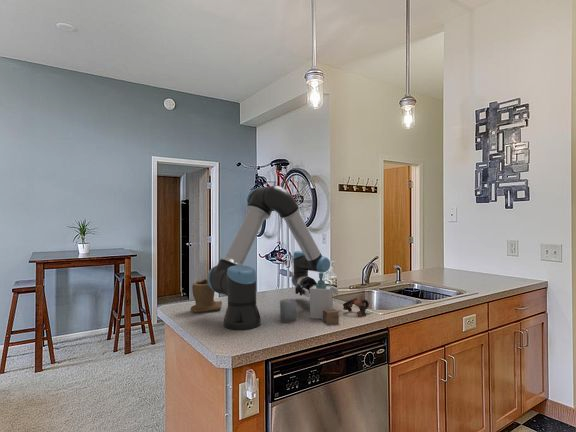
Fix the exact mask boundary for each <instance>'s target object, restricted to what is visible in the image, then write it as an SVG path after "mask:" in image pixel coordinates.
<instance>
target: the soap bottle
mask: <svg viewBox="0 0 576 432" xmlns="http://www.w3.org/2000/svg"><path fill="white" fill-rule="evenodd" d="M317 273H318V279H319V280H317V282H316V283H317V284H316V285H313V286H312V287H311V288H310V293H309V318H310V319H317V320H323V309H334V308H333V307H334V306H333V305H334V304H333V302H334V301H333V297H334V296H333V294H334V293H332V285H326V284H327V283H326V284H325V280H323V278H324V273H325V272H317Z"/></svg>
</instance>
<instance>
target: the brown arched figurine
mask: <svg viewBox="0 0 576 432" xmlns="http://www.w3.org/2000/svg"><path fill="white" fill-rule="evenodd" d="M364 304H365V305H364ZM353 305H355V307H357V308H358V309H359V310H358V311H357V312H356V315H357V317H358V318H360V317H361V318H362V316H365V315H366V311H367V310H368V308H369V305H370V303H369V301H368V300H367V299H362V300H359V299H358V297H355V298H352V299H350V300H348V301H346V302H344V303H343V304H342V306H343V308H342V310H343V311H345V310H346V311H347V312H349V313H351V312H352V311H353V309H352V308H353Z"/></svg>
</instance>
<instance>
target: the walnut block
mask: <svg viewBox="0 0 576 432" xmlns="http://www.w3.org/2000/svg"><path fill="white" fill-rule="evenodd" d="M339 312H340V311H338V310H337V309H336V308H333V309H323V319H322V322H323V323H324V324H325V325H327V326H328V325H329V324H330V325H338V324H339V323H340V317H339V314H340V313H339Z"/></svg>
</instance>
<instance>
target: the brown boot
mask: <svg viewBox="0 0 576 432" xmlns="http://www.w3.org/2000/svg"><path fill="white" fill-rule="evenodd" d="M191 290H192V296H193V298H194V302H195V304H194V305H192V306H191V307H190V311H191V312H193V313H203V312H211V311H217V310H221V309H222V303H223V301H222V300H220V301H215V293H216V292H215V291H213V290H212V289H211V288H210V287H209V285H208V282H207V278H203V279H201V280H196V281H194V282H193V283H192V286H191Z"/></svg>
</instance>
